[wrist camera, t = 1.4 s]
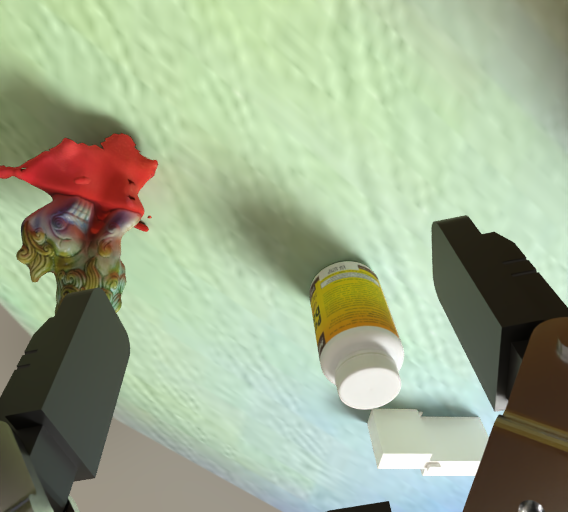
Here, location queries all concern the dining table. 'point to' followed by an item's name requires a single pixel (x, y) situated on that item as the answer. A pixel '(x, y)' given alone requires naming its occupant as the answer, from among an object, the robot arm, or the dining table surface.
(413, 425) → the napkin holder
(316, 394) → the dining table surface
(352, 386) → the supplement bottle
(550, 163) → the dining table surface
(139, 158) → the figurine
